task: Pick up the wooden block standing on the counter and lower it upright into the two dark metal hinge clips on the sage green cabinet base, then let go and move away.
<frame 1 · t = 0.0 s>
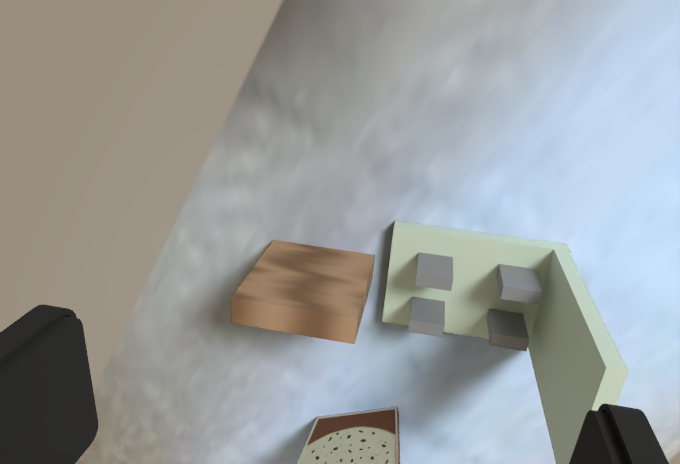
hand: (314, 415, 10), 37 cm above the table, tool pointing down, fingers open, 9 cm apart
wooden block: (322, 258, 50), on the table
hinge base: (469, 280, 48), on the table
food container: (364, 431, 58), on the table
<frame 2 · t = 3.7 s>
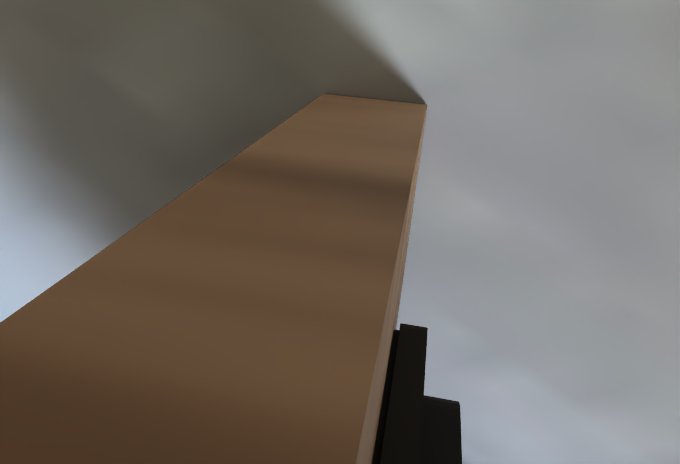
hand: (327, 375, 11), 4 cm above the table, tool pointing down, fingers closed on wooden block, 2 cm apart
wooden block: (356, 288, 14), on the table, touching gripper
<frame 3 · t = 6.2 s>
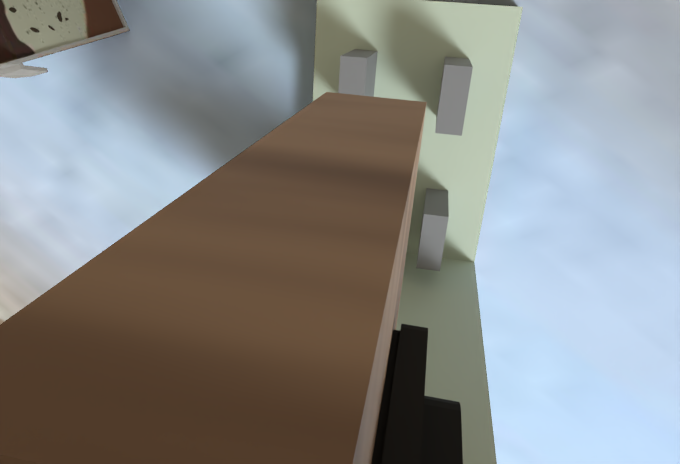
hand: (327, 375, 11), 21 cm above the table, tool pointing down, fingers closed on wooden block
wooden block: (358, 280, 14), point 17 cm above the table, touching gripper
hinge base: (402, 143, 30), on the table
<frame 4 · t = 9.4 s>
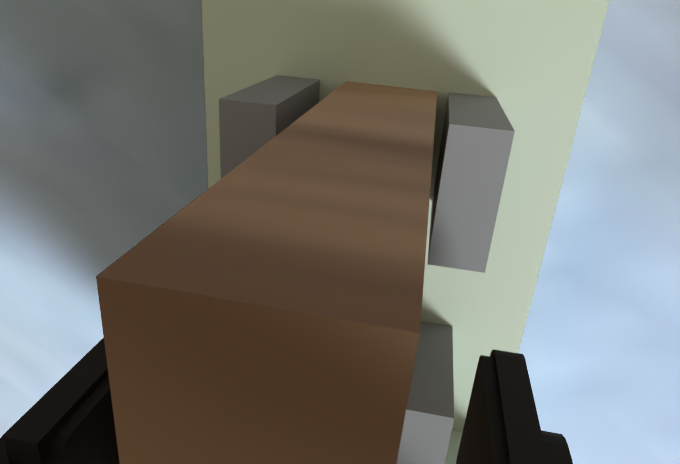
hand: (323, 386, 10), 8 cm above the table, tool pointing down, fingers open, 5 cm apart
wooden block: (370, 255, 16), point 2 cm above the table, touching hinge base
hinge base: (372, 235, 17), on the table
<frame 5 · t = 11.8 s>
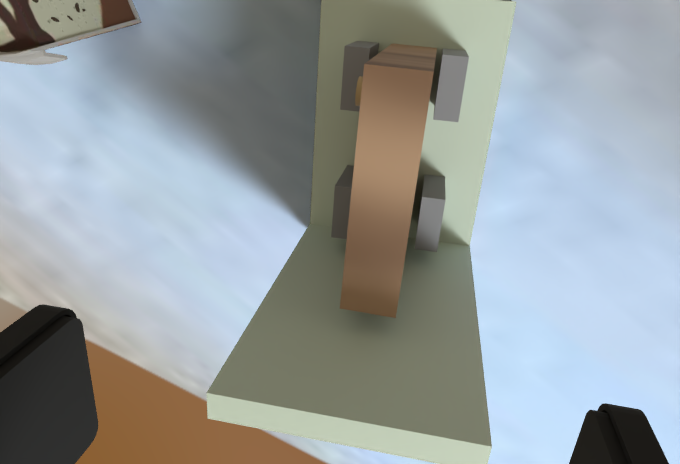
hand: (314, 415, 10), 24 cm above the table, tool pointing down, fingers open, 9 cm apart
wooden block: (401, 137, 30), point 1 cm above the table, touching hinge base
hinge base: (401, 131, 31), on the table
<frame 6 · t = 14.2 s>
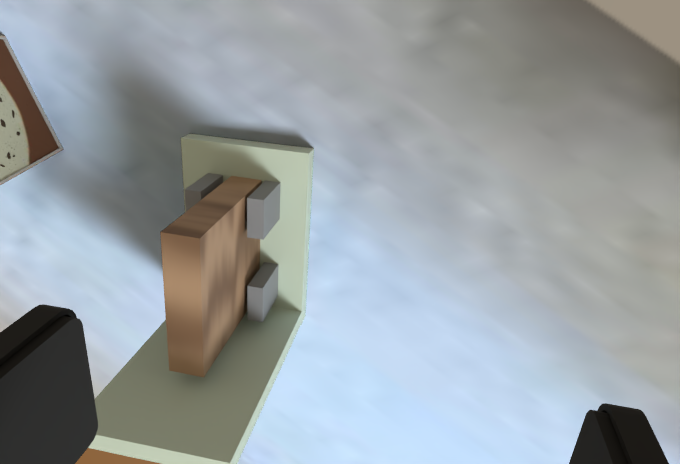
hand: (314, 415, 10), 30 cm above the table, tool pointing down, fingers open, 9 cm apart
wooden block: (245, 237, 42), point 1 cm above the table, touching hinge base
hinge base: (250, 229, 43), on the table
food container: (8, 105, 43), on the table
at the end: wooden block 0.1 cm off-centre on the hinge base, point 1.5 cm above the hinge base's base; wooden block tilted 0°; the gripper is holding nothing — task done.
